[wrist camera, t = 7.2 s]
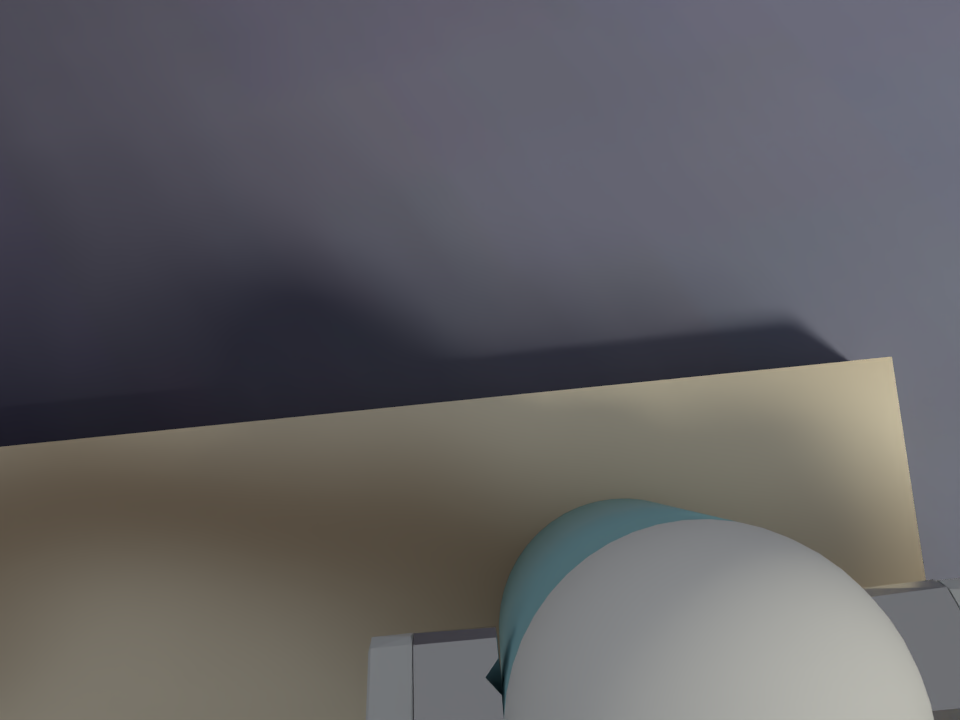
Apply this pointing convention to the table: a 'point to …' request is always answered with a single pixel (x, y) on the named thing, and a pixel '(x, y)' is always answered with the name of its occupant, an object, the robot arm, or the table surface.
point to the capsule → (693, 625)
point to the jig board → (396, 528)
